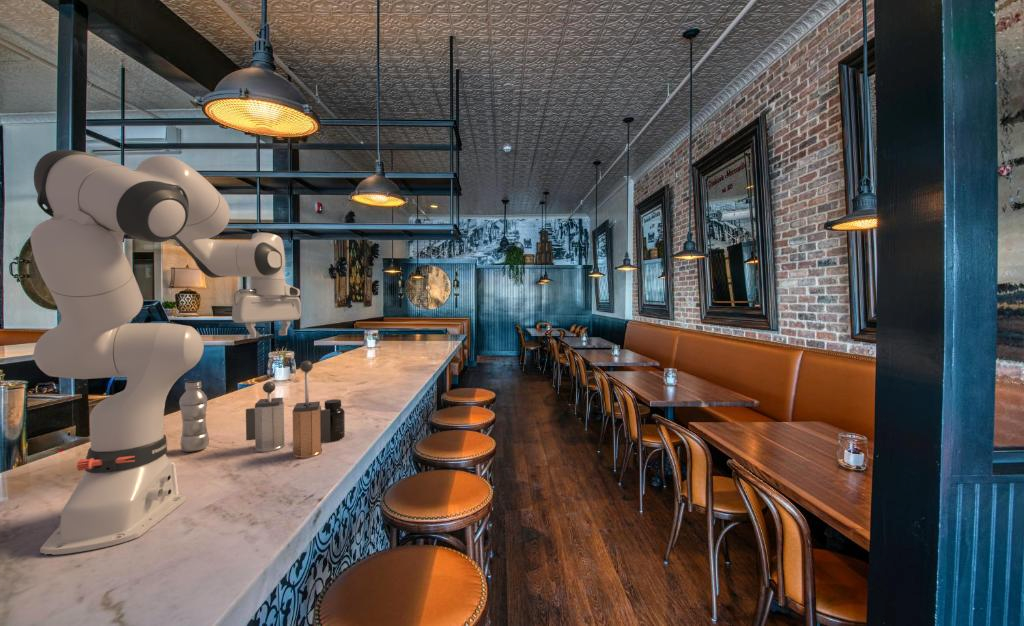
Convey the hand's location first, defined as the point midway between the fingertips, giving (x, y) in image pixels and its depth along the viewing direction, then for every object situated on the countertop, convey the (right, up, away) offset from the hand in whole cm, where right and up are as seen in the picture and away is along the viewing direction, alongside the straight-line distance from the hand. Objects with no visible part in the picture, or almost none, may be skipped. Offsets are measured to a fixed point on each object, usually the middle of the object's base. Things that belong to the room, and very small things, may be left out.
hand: (269, 336), depth 118 cm
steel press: (-2, -33, +1) cm, 33 cm away
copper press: (+14, -33, -3) cm, 36 cm away
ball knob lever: (+13, -21, -4) cm, 25 cm away
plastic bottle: (-21, -33, -1) cm, 39 cm away
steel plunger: (0, -28, +1) cm, 28 cm away
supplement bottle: (+15, -33, +9) cm, 37 cm away
